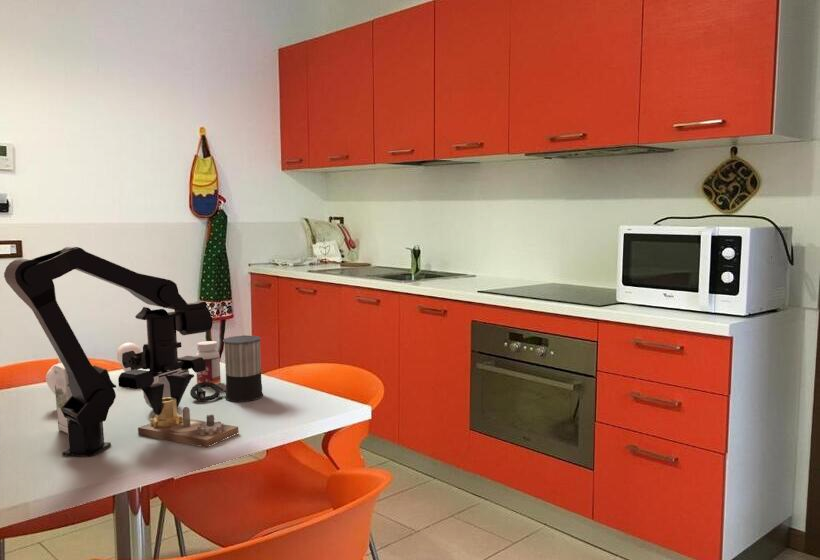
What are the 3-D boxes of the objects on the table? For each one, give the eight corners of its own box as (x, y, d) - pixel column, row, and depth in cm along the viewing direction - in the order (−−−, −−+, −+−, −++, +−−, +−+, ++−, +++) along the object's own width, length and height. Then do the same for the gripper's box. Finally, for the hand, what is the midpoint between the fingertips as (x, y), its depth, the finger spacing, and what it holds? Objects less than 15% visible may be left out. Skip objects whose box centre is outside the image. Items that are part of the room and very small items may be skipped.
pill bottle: (192, 386, 182) (190, 344, 181) (206, 380, 188) (204, 340, 186) (211, 387, 180) (209, 345, 179) (225, 382, 185) (223, 341, 184)
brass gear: (173, 427, 141) (172, 403, 140) (145, 427, 141) (144, 403, 141) (187, 418, 147) (185, 396, 146) (160, 418, 147) (158, 396, 147)
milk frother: (270, 397, 169) (268, 338, 168) (211, 410, 159) (208, 347, 157) (242, 387, 180) (239, 331, 178) (184, 399, 169) (181, 340, 168)
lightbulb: (119, 380, 190) (116, 341, 189) (143, 378, 192) (141, 339, 190) (116, 385, 184) (114, 345, 183) (142, 383, 186) (139, 343, 184)
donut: (154, 414, 156) (152, 371, 155) (141, 414, 157) (138, 371, 156) (178, 402, 166) (175, 362, 165) (165, 402, 166) (162, 361, 165)
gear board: (238, 433, 141) (237, 406, 140) (207, 447, 133) (205, 418, 133) (171, 422, 150) (170, 397, 149) (138, 434, 142) (136, 407, 141)
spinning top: (48, 405, 166) (44, 356, 165) (82, 400, 169) (79, 352, 168) (47, 412, 159) (44, 362, 158) (84, 408, 163) (80, 358, 162)
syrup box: (96, 429, 146) (92, 362, 145) (68, 436, 142) (63, 367, 140) (84, 424, 150) (80, 359, 148) (56, 431, 145) (51, 364, 144)
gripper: (168, 329, 154) (172, 396, 156) (97, 343, 138) (102, 419, 139) (205, 332, 149) (209, 402, 151) (136, 347, 133) (140, 426, 134)
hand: (166, 411), depth 144 cm, fingers closed on brass gear, 4 cm apart
